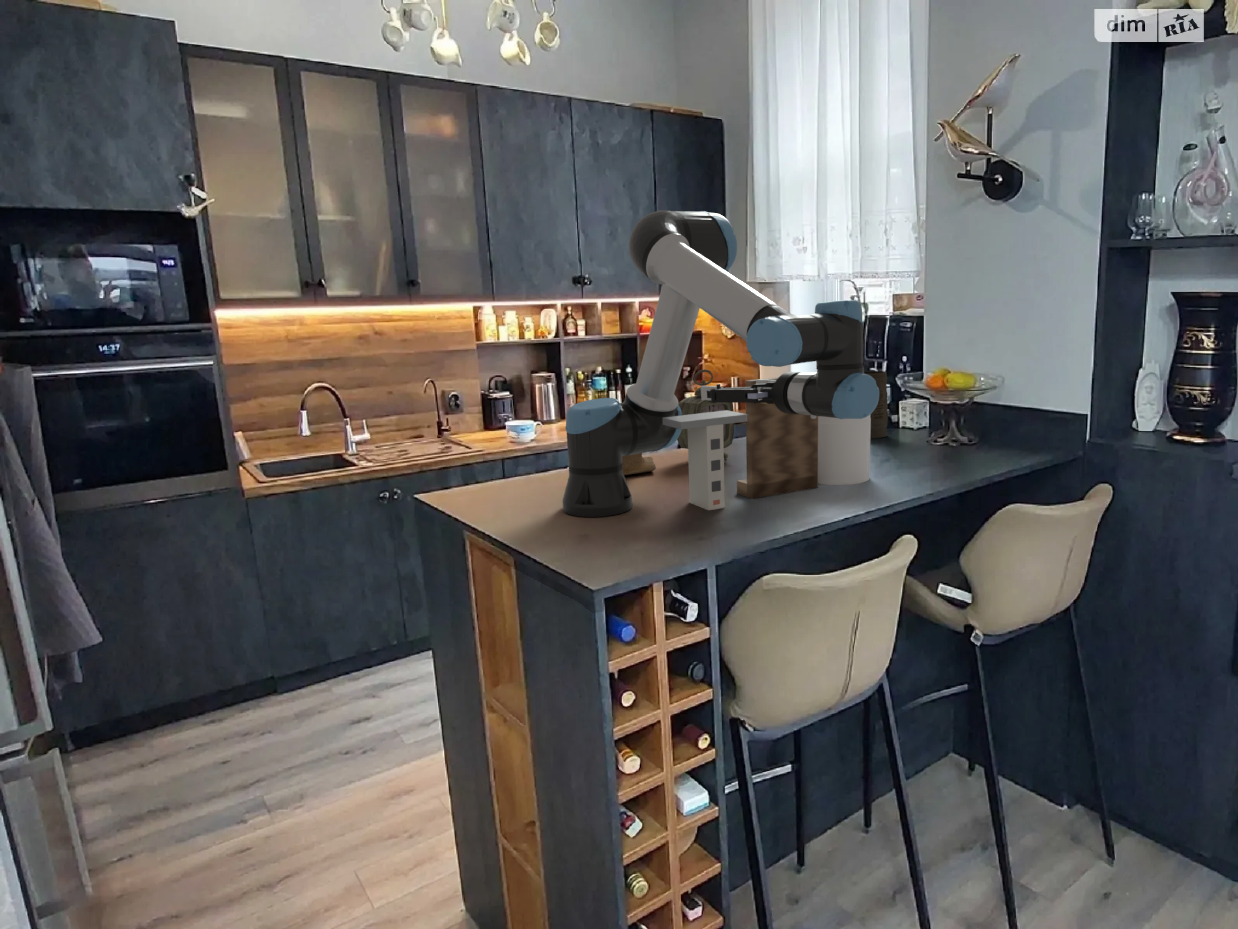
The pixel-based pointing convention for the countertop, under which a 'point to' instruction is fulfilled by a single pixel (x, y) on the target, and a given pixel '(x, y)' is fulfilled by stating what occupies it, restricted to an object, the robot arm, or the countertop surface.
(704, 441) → the power strip
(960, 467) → the countertop surface
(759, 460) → the bracket
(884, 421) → the beer stein
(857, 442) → the canister
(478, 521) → the countertop surface
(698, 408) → the tabletop clock
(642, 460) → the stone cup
